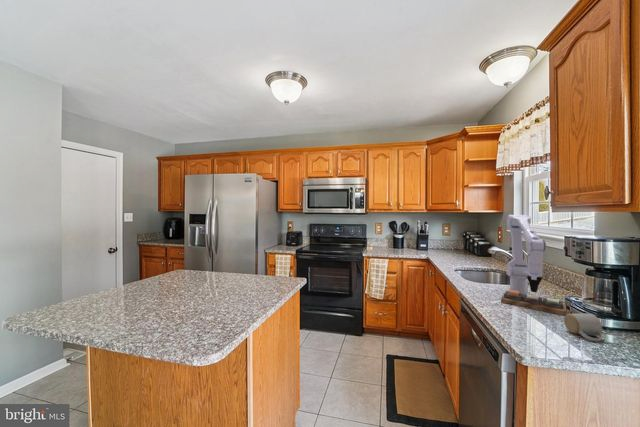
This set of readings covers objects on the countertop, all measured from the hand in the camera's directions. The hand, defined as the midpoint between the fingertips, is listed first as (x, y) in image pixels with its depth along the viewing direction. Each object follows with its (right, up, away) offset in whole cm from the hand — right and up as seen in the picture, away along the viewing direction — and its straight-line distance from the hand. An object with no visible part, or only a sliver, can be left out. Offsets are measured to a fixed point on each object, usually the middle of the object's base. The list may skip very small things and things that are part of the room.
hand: (533, 291), depth 131 cm
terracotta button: (-6, -4, +5) cm, 9 cm away
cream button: (-1, -5, 0) cm, 5 cm away
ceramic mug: (-5, -8, -31) cm, 32 cm away
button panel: (0, -7, 0) cm, 7 cm away
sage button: (+5, -5, -5) cm, 8 cm away
